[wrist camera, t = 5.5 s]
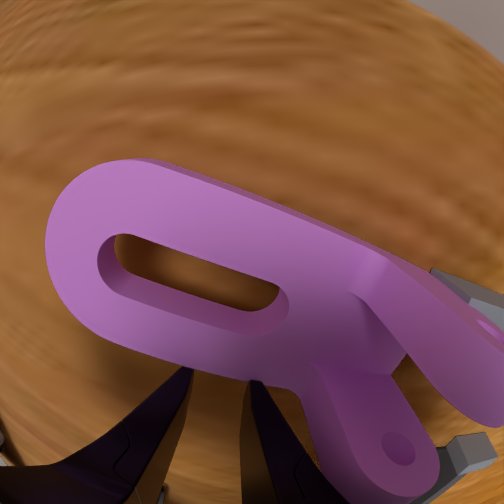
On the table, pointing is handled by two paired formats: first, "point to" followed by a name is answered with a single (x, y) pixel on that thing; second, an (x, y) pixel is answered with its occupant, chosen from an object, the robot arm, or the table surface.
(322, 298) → the bracket
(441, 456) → the trap pit
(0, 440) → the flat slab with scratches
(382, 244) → the table surface
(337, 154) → the table surface
